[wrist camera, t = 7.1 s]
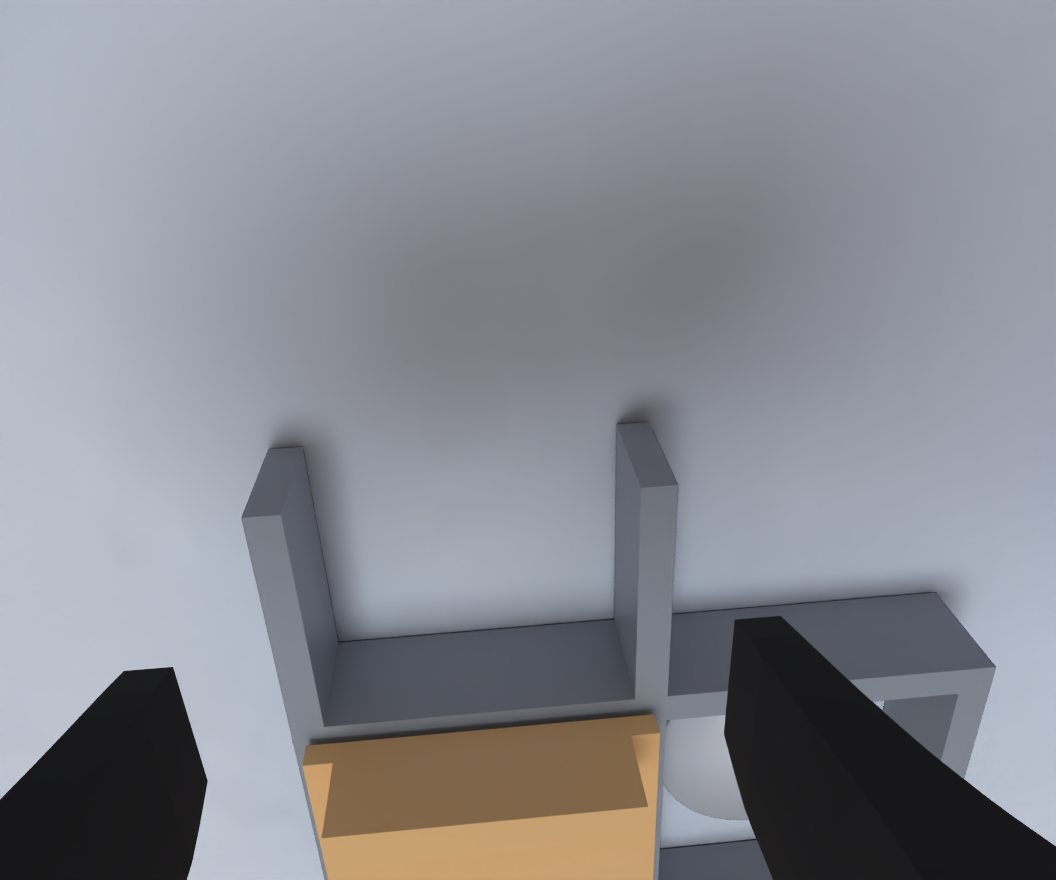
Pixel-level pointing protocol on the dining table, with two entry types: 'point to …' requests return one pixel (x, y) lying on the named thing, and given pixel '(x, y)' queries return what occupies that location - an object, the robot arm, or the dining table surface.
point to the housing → (596, 656)
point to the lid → (490, 803)
